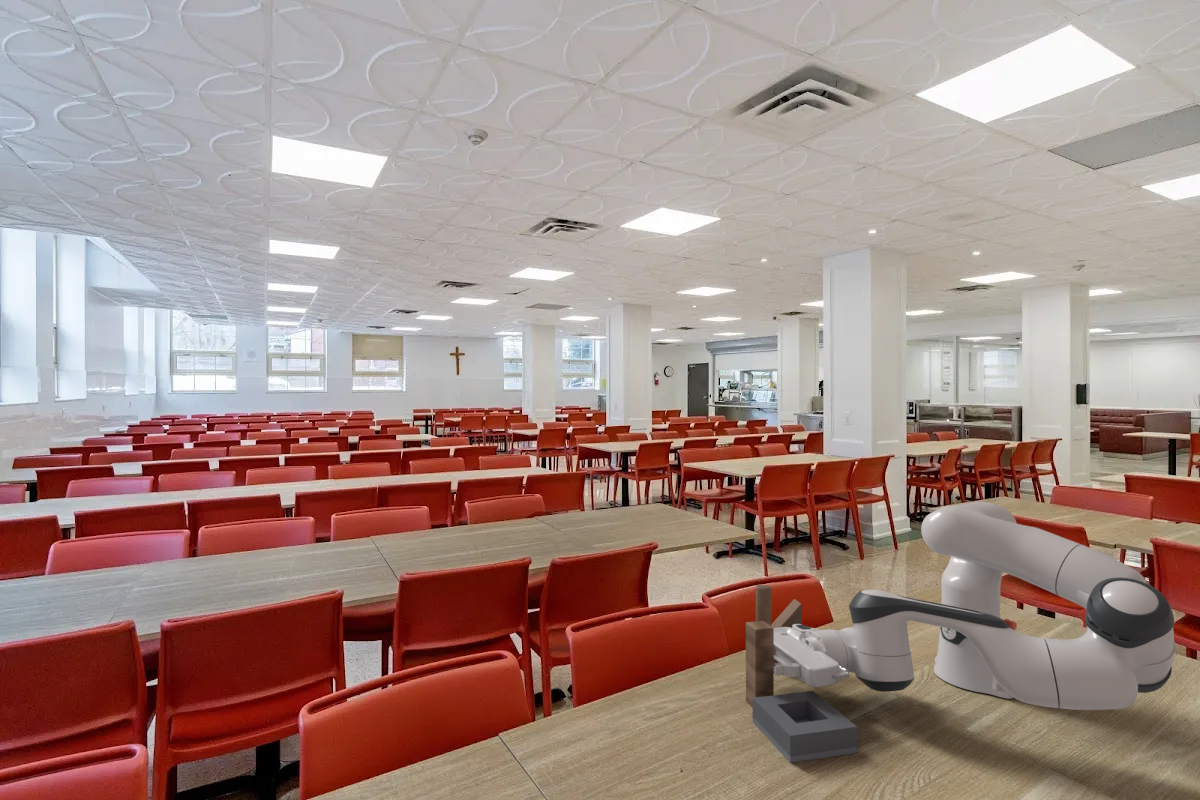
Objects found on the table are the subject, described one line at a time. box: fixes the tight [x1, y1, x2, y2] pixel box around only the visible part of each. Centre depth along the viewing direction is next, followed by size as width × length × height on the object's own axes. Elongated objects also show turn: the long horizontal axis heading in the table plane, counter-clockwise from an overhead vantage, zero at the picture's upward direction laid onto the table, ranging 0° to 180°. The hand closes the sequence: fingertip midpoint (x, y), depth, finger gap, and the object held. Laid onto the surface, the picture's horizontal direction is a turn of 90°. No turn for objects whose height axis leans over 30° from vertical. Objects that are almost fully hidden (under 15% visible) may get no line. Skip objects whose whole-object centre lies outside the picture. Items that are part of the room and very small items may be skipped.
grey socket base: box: [752, 690, 858, 764], centre depth 103 cm, size 13×13×4 cm
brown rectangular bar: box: [745, 620, 775, 709], centre depth 114 cm, size 4×4×16 cm
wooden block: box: [755, 584, 803, 663], centre depth 134 cm, size 4×11×18 cm, turn 99°
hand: (761, 659), depth 114 cm, fingers open, 8 cm apart
